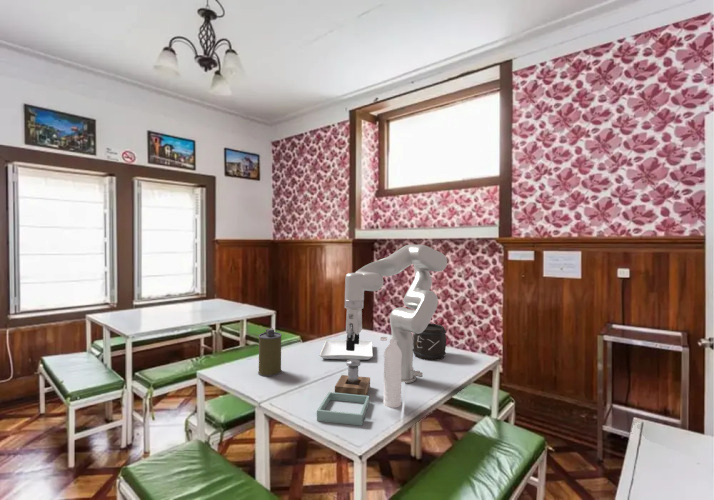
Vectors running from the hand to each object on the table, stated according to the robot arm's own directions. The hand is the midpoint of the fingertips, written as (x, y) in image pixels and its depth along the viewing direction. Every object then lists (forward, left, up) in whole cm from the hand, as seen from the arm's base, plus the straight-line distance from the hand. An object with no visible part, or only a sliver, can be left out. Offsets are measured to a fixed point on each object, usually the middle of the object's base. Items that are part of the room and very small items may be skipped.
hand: (352, 347), depth 147 cm
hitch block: (0, 0, -19) cm, 19 cm away
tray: (0, +16, -19) cm, 25 cm away
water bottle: (-16, +6, -19) cm, 26 cm away
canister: (+42, -15, -19) cm, 48 cm away
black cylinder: (-30, -57, -19) cm, 68 cm away
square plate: (+13, -51, -20) cm, 56 cm away
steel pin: (0, 0, -18) cm, 18 cm away
